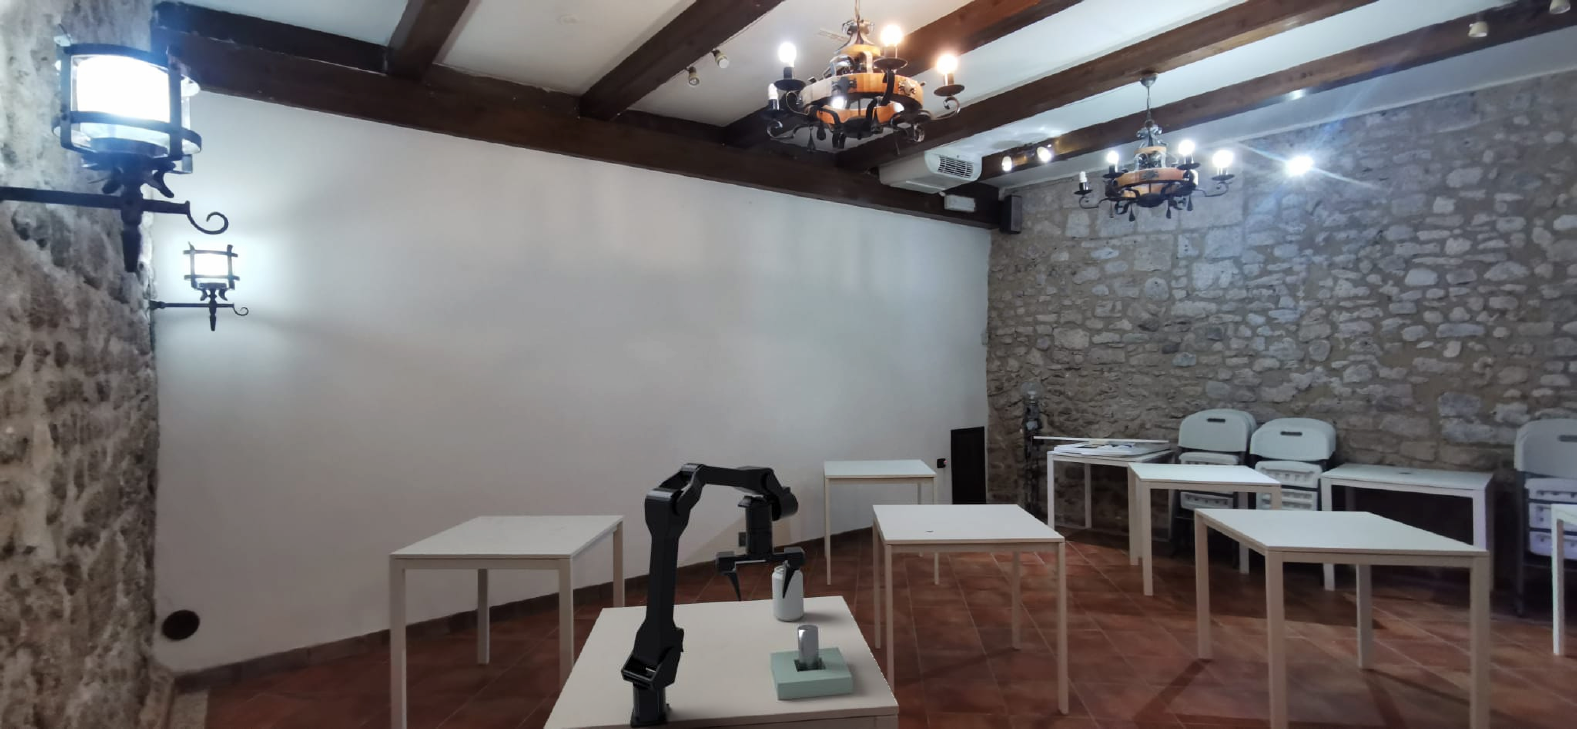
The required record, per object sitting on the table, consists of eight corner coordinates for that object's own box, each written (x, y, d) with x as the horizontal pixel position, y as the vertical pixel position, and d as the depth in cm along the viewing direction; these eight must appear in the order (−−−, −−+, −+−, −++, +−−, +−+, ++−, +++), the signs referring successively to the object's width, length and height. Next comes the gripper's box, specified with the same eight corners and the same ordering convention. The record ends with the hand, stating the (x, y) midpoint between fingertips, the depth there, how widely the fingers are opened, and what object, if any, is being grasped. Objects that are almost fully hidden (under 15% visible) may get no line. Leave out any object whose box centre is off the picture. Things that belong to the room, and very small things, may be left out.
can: (767, 619, 172) (766, 570, 172) (782, 609, 178) (780, 562, 178) (795, 624, 168) (793, 573, 168) (809, 613, 175) (807, 565, 175)
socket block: (852, 692, 132) (852, 676, 132) (778, 699, 131) (777, 683, 131) (838, 661, 146) (838, 647, 146) (770, 667, 145) (770, 652, 145)
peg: (821, 683, 137) (819, 631, 137) (801, 685, 136) (798, 633, 136) (818, 674, 141) (816, 623, 141) (798, 675, 140) (796, 625, 140)
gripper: (797, 515, 159) (800, 584, 159) (714, 520, 157) (716, 590, 157) (804, 526, 148) (807, 600, 148) (715, 531, 146) (717, 607, 146)
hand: (761, 599), depth 150 cm, fingers open, 9 cm apart
